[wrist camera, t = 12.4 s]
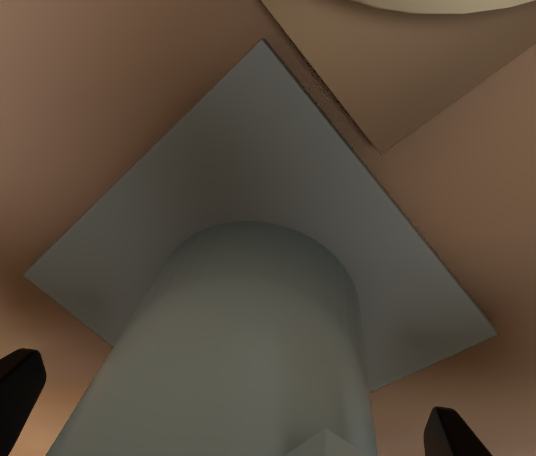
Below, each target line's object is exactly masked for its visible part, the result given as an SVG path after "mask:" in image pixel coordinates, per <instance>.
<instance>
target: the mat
mask: <svg viewBox="0 0 536 456" xmlns="http://www.w3.org/2000/svg"><path fill="white" fill-rule="evenodd" d="M238 221H257V222H266V223H272V224H276V225H281V226H285V227H288V228H290V229H293V230H296V231H299V232H301V233H303V234H305V235H307V236H309V237H311V238H312V239H314V240H315V241H317V242H318V243H320V244H321V245H323V246H324V247H325V248H327V249H328V250H329V251H330V252H331V253H332V254H334V255H335V256H336V258H337V259H338V260H339V261H340V262H341V263H342V264H343V266H344V267H345V269H346V270H347V272H348V273H349V275H350V276H351V279H352V281H353V283H354V285H355V288H356V291H357V295H358V298H359V307H360V315H361V323H362V331H363V339H364V347H365V355H366V363H367V371H368V379H369V387H370V393H371V392H373V391H375V390H377V389H380V388H382V387H384V386H386V385H388V384H391V383H393V382H395V381H397V380H399V379H402V378H404V377H406V376H408V375H410V374H413V373H415V372H417V371H419V370H421V369H424V368H426V367H428V366H430V365H432V364H435V363H437V362H439V361H441V360H443V359H446V358H448V357H450V356H452V355H454V354H457V353H459V352H461V351H463V350H465V349H468V348H470V347H472V346H474V345H476V344H479V343H481V342H483V341H485V340H487V339H490V338H492V337H494V336H496V335H498V333H497V331H496V330H495V328H494V326H493V324H492V323H491V322H490V321H489V319H488V318H487V317H486V316H485V314H484V313H483V312H482V311H481V309H480V308H479V307H478V306H477V304H476V303H475V302H474V300H473V299H472V298H471V297H470V295H469V294H468V293H467V292H466V290H465V289H464V288H463V287H462V285H461V284H460V283H459V282H458V280H457V279H456V278H455V277H454V275H453V274H452V273H451V272H450V270H449V269H448V268H447V267H446V265H445V264H444V263H443V262H442V260H441V259H440V258H439V257H438V255H437V254H436V253H435V252H434V250H433V249H432V248H431V247H430V245H429V244H428V243H427V242H426V240H425V239H424V238H423V237H422V235H421V234H420V233H419V232H418V230H417V229H416V228H415V227H414V225H413V224H412V223H411V222H410V220H409V219H408V218H407V217H406V215H405V214H404V213H403V211H402V210H401V209H400V208H399V206H398V205H397V204H396V203H395V201H394V200H393V199H392V198H391V196H390V195H389V194H388V193H387V191H386V190H385V189H384V188H383V186H382V185H381V184H380V183H379V181H378V180H377V179H376V178H375V176H374V175H373V174H372V173H371V171H370V170H369V169H368V168H367V166H366V165H365V164H364V163H363V161H362V160H361V159H360V158H359V156H358V155H357V154H356V153H355V151H354V150H353V149H352V148H351V146H350V145H349V144H348V143H347V141H346V140H345V139H344V138H343V136H342V135H341V134H340V133H339V131H338V130H337V129H336V128H335V126H334V125H333V124H332V123H331V121H330V120H329V119H328V117H327V116H326V115H325V114H324V112H323V111H322V110H321V109H320V107H319V106H318V105H317V104H316V102H315V101H314V100H313V99H312V97H311V96H310V95H309V94H308V92H307V91H306V90H305V89H304V87H303V86H302V85H301V84H300V82H299V81H298V80H297V79H296V77H295V76H294V75H293V74H292V72H291V71H290V70H289V69H288V67H287V66H286V65H285V64H284V62H283V61H282V60H281V59H280V57H279V56H278V55H277V54H276V52H275V51H274V50H273V49H272V47H271V46H270V45H269V44H268V42H267V41H266V40H265V39H264V38H263V39H261V40H260V41H259V42H258V43H257V44H256V45H255V46H254V47H253V48H252V49H251V50H250V51H249V52H248V53H247V54H246V55H245V56H244V57H243V58H242V59H241V60H240V61H239V62H238V63H237V64H236V65H235V66H234V67H233V68H232V69H231V70H230V71H229V72H228V73H227V74H226V75H225V76H224V77H223V78H222V79H221V80H220V81H219V82H218V83H217V84H216V85H215V86H214V87H213V88H212V89H211V90H210V91H209V92H208V93H207V94H206V95H205V96H204V97H203V98H202V99H201V100H200V101H199V102H198V103H197V104H196V105H195V106H193V107H192V108H191V109H190V110H189V111H188V112H187V113H186V114H185V115H184V116H183V117H182V118H181V119H180V120H179V121H178V122H177V123H176V124H175V125H174V126H173V127H172V128H171V129H170V130H169V131H168V132H167V133H166V134H165V135H164V136H163V137H162V138H161V139H160V140H159V141H158V142H157V143H156V144H155V145H154V146H153V147H152V148H151V149H150V150H149V151H148V152H147V153H146V154H145V155H144V156H143V157H142V158H141V159H140V160H139V161H138V162H137V163H136V164H135V165H134V166H133V167H132V168H131V169H130V170H129V171H128V172H127V173H125V174H124V175H123V176H122V177H121V178H120V179H119V180H118V181H117V182H116V183H115V184H114V185H113V186H112V187H111V188H110V189H109V190H108V191H107V192H106V193H105V194H104V195H103V196H102V197H101V198H100V199H99V200H98V201H97V202H96V203H95V204H94V205H93V206H92V207H91V208H90V209H89V210H88V211H87V212H86V213H85V214H84V215H83V216H82V217H81V218H80V219H79V220H78V221H77V222H76V223H75V224H74V225H73V226H72V227H71V228H70V229H69V230H68V231H67V232H66V233H65V234H64V235H63V236H62V237H61V238H60V239H59V240H57V241H56V242H55V243H54V244H53V245H52V246H51V247H50V248H49V249H48V250H47V251H46V252H45V253H44V254H43V255H42V256H41V257H40V258H39V259H38V260H37V261H36V262H35V263H34V264H33V265H32V266H31V267H30V268H29V269H28V270H27V271H26V272H25V273H24V274H23V276H24V277H25V278H27V279H28V280H29V281H30V282H32V283H33V284H34V285H35V286H37V287H38V288H39V289H40V290H42V291H43V292H44V293H45V294H47V295H48V296H49V297H50V298H52V299H53V300H54V301H55V302H57V303H58V304H59V305H60V306H62V307H63V308H64V309H66V310H67V311H68V312H69V313H71V314H72V315H73V316H74V317H76V318H77V319H78V320H79V321H81V322H82V323H83V324H84V325H86V326H87V327H88V328H89V329H91V330H92V331H93V332H94V333H96V334H97V335H98V336H99V337H101V338H102V339H103V340H104V341H106V342H107V343H108V344H109V345H111V346H112V347H114V345H115V343H116V342H117V340H118V339H119V337H120V335H121V334H122V332H123V331H124V329H125V327H126V326H127V324H128V323H129V321H130V319H131V318H132V316H133V315H134V313H135V311H136V310H137V308H138V307H139V305H140V303H141V302H142V300H143V298H144V297H145V295H146V294H147V292H148V290H149V289H150V287H151V286H152V284H153V282H154V281H155V279H156V278H157V276H158V274H159V273H160V271H161V270H162V268H163V266H164V265H165V263H166V262H167V260H168V259H169V257H170V256H171V254H172V253H173V252H174V251H175V250H176V249H177V247H178V246H179V245H180V244H182V243H183V242H184V241H186V240H187V239H188V238H189V237H191V236H193V235H195V234H196V233H198V232H200V231H202V230H205V229H207V228H210V227H212V226H216V225H220V224H224V223H230V222H238Z"/></svg>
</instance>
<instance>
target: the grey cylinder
mask: <svg viewBox="0 0 536 456" xmlns="http://www.w3.org/2000/svg"><path fill="white" fill-rule="evenodd" d="M46 456H378V452H377V444H376V436H375V428H374V420H373V412H372V404H371V395H370V387H369V379H368V371H367V363H366V355H365V347H364V339H363V331H362V323H361V315H360V307H359V298H358V295H357V291H356V288H355V285H354V283H353V281H352V279H351V276H350V275H349V273H348V272H347V270H346V269H345V267H344V266H343V264H342V263H341V262H340V261H339V260H338V259H337V258H336V256H335V255H334V254H332V253H331V252H330V251H329V250H328V249H327V248H325V247H324V246H323V245H321V244H320V243H318V242H317V241H315V240H314V239H312V238H311V237H309V236H307V235H305V234H303V233H301V232H299V231H296V230H293V229H290V228H288V227H285V226H281V225H276V224H272V223H266V222H257V221H238V222H230V223H224V224H220V225H216V226H212V227H210V228H207V229H205V230H202V231H200V232H198V233H196V234H195V235H193V236H191V237H189V238H188V239H187V240H186V241H184V242H183V243H182V244H180V245H179V246H178V247H177V249H176V250H175V251H174V252H173V253H172V254H171V256H170V257H169V259H168V260H167V262H166V263H165V265H164V266H163V268H162V270H161V271H160V273H159V274H158V276H157V278H156V279H155V281H154V282H153V284H152V286H151V287H150V289H149V290H148V292H147V294H146V295H145V297H144V298H143V300H142V302H141V303H140V305H139V307H138V308H137V310H136V311H135V313H134V315H133V316H132V318H131V319H130V321H129V323H128V324H127V326H126V327H125V329H124V331H123V332H122V334H121V335H120V337H119V339H118V340H117V342H116V343H115V345H114V347H113V348H112V350H111V352H110V353H109V355H108V356H107V358H106V360H105V361H104V363H103V364H102V366H101V368H100V369H99V371H98V372H97V374H96V376H95V377H94V379H93V380H92V382H91V384H90V385H89V387H88V389H87V390H86V392H85V393H84V395H83V397H82V398H81V400H80V401H79V403H78V405H77V406H76V408H75V409H74V411H73V413H72V414H71V416H70V417H69V419H68V421H67V422H66V424H65V425H64V427H63V429H62V430H61V432H60V434H59V435H58V437H57V438H56V440H55V442H54V443H53V445H52V446H51V448H50V450H49V451H48V453H47V454H46Z"/></svg>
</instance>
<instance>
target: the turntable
mask: <svg viewBox="0 0 536 456" xmlns="http://www.w3.org/2000/svg"><path fill="white" fill-rule="evenodd" d="M350 1H354V2H357V3H360V4H363V5H367V6H370V7H373V8H378V9H385V10H392V11H399V12H405V13H418V14H466V13H473V12H480V11H487V10H495V9H502V8H509V7H513V6H516V5H520V4H524V3H528V2H531V1H535V0H350Z"/></svg>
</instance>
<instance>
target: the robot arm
mask: <svg viewBox="0 0 536 456" xmlns="http://www.w3.org/2000/svg"><path fill="white" fill-rule="evenodd" d="M45 382H46V371H45V367H44V364H43V361H42V357H41V354H40V352H39V351H37V350H33V349H26V348H21V349H18V350H16V351H14V352H12V353H11V354H9V355H7V356H5V357H3V358H2V359H0V456H8V455H9V453H10V452H11V450H12V448H13V446H14V444H15V443H16V441H17V439H18V437H19V435H20V433H21V431H22V429H23V427H24V425H25V423H26V421H27V419H28V417H29V415H30V413H31V411H32V409H33V407H34V405H35V403H36V401H37V399H38V397H39V395H40V393H41V391H42V389H43V387H44V385H45ZM424 447H425V456H492V454H491V453H490V452H489V451H488V450H487V448H486V447H485V446H484V445H483V443H482V442H481V441H480V440H479V439H478V437H477V436H476V435H475V434H474V432H473V431H472V430H471V429H470V428H469V426H468V425H467V424H466V423H465V421H464V420H463V419H462V418H461V416H460V415H459V414H458V413H457V412H456V411H455V410H454V409H451V408H445V407H438V406H437V407H434V408H433V409H432V411H431V414H430V417H429V419H428V422H427V424H426V427H425V430H424Z"/></svg>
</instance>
